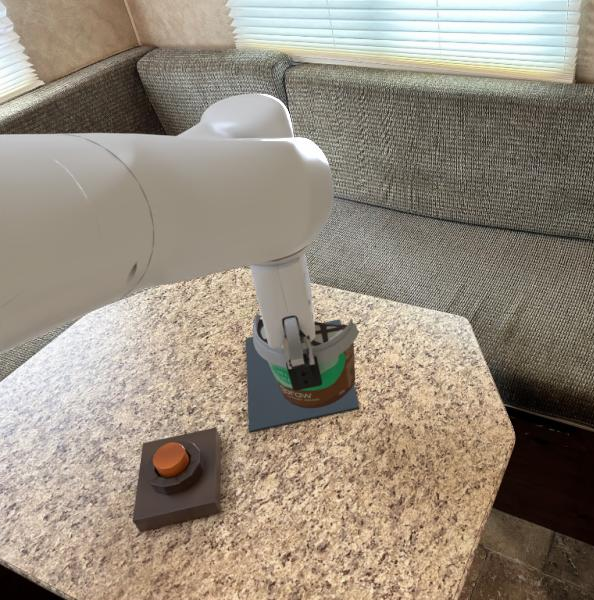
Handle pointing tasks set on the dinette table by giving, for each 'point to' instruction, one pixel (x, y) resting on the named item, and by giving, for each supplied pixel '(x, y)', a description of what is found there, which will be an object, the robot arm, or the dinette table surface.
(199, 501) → the button box
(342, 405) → the mat
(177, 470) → the button
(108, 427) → the dinette table surface
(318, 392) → the food container
